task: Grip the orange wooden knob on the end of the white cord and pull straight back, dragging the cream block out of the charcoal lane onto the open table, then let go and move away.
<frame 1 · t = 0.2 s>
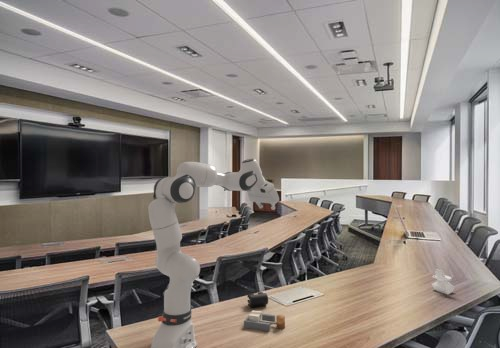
hand: (267, 208, 181), 54 cm above the table, tool tilted 30°, fingers open, 8 cm apart
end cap: (257, 306, 183), on the table
corded block: (255, 323, 161), on the table
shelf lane: (260, 324, 160), on the table
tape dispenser: (442, 291, 204), on the table
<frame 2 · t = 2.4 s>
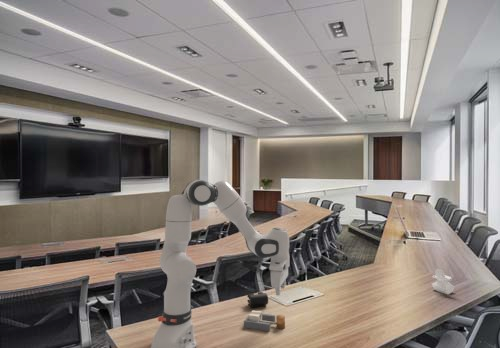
hand: (280, 291, 157), 17 cm above the table, tool pointing down, fingers open, 8 cm apart
nothing on the table moved.
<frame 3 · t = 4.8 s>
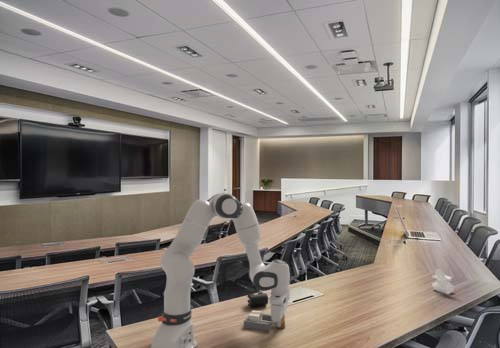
hand: (280, 323, 157), 2 cm above the table, tool pointing down, fingers closed on corded block, 4 cm apart
corded block: (255, 323, 161), on the table, touching gripper
everything else where it was.
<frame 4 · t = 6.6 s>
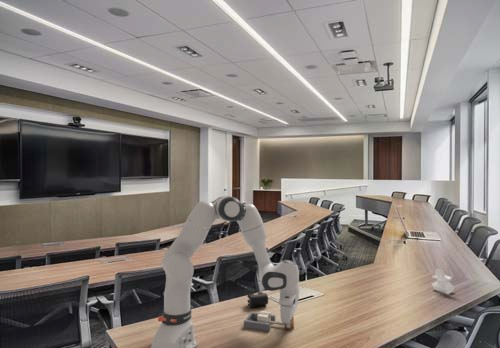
hand: (289, 324, 156), 2 cm above the table, tool pointing down, fingers closed on corded block, 4 cm apart
corded block: (264, 324, 160), on the table, touching gripper
everything else where it was.
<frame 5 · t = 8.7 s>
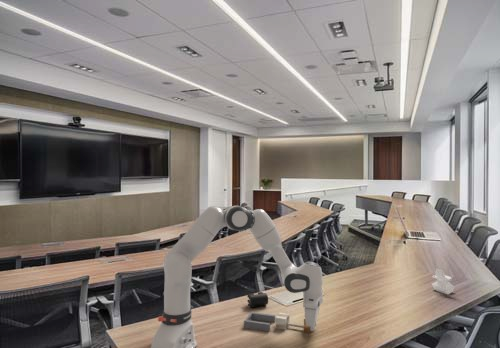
hand: (313, 327, 152), 2 cm above the table, tool pointing down, fingers open, 3 cm apart
corded block: (282, 326, 158), on the table
everything else where it was.
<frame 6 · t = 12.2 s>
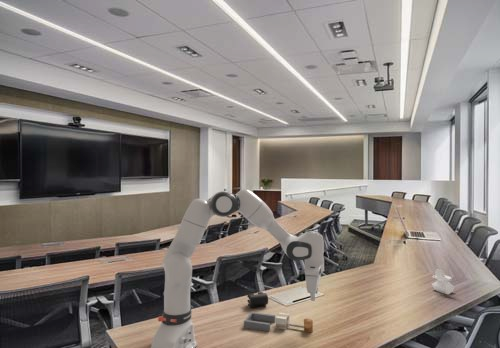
hand: (314, 296, 152), 16 cm above the table, tool pointing down, fingers open, 8 cm apart
nothing on the table moved.
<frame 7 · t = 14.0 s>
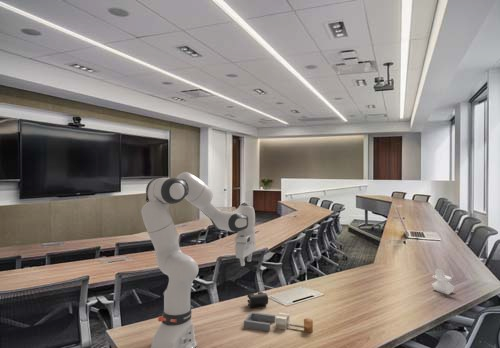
hand: (246, 263, 169), 27 cm above the table, tool pointing down, fingers open, 8 cm apart
nothing on the table moved.
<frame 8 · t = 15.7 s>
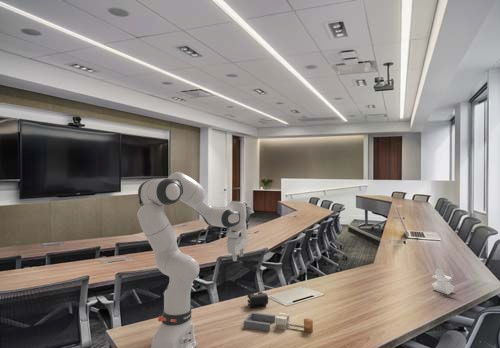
hand: (238, 258, 171), 29 cm above the table, tool pointing down, fingers open, 8 cm apart
nothing on the table moved.
at the end: corded block inside the target area (5.1 cm from its centre), on the table; corded block tilted 0°; the gripper is holding nothing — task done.
